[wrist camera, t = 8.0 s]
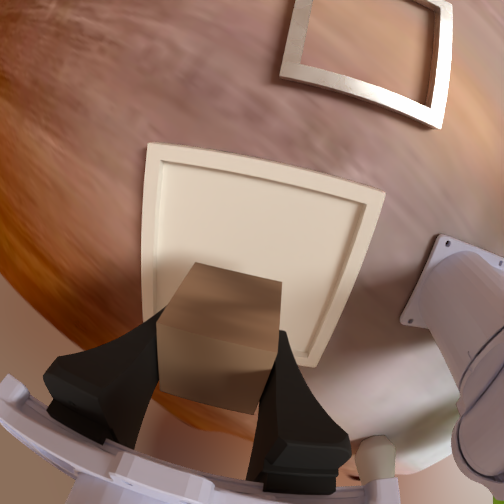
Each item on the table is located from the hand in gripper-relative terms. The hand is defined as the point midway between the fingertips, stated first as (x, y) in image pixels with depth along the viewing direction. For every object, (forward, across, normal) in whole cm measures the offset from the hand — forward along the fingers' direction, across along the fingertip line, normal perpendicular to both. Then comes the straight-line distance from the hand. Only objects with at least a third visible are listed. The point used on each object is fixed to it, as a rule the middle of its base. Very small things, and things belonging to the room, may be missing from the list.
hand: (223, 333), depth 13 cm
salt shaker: (+8, -22, +23) cm, 33 cm away
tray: (+7, 0, 0) cm, 7 cm away
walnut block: (+2, 0, 0) cm, 2 cm away
